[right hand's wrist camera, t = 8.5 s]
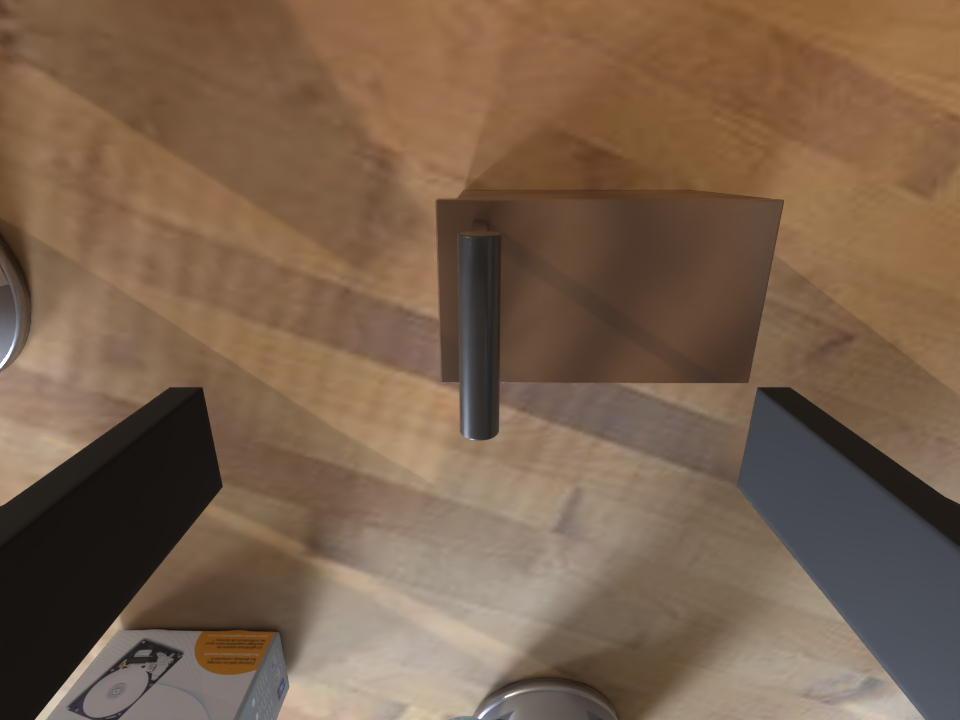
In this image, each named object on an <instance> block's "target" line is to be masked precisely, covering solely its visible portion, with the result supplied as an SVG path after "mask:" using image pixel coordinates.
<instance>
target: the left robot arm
mask: <svg viewBox="0 0 960 720" xmlns="http://www.w3.org/2000/svg"><path fill="white" fill-rule="evenodd" d="M449 720H618V716H617V714H616V711H615V709H614V707H613V706H612V705H611V703H610V702H609V701H608V700H607V699H606V698H605V697H604V696H603V695H602V694H600V693H599V692H598V691H596V690H594V689H593V688H591V687H589V686H587V685H584V684H582V683H579V682H575V681H572V680H567V679H560V678H536V679H529V680H524V681H520V682H516V683H513V684H510V685H508V686H506V687H504V688H502V689H500V690H498V691H496V692H495V693H493V694H492V695H490V696H489V697H488V698H487V699H486V700H485V701H484V702H483V703H482V704H481V705H480V706H479V707H478V709H477V710H476V712H475V714H474V716H473V717H470V716H463V717H456V718H452V719H449Z"/></svg>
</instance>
